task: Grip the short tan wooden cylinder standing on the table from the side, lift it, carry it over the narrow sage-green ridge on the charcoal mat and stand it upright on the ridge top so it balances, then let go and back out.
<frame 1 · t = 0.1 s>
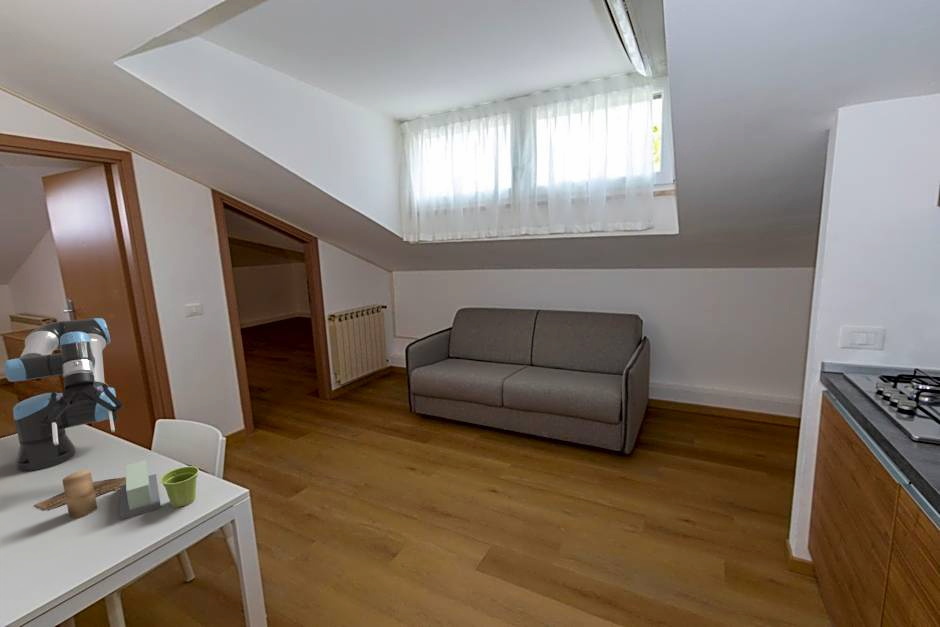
hand: (85, 437, 136), 15 cm above the table, tool tilted 35°, fingers open, 13 cm apart
tan wooden cylinder: (83, 511, 123), on the table
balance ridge: (140, 497, 129), on the table
wooden fragment: (92, 491, 133), on the table
plant pot: (183, 502, 127), on the table
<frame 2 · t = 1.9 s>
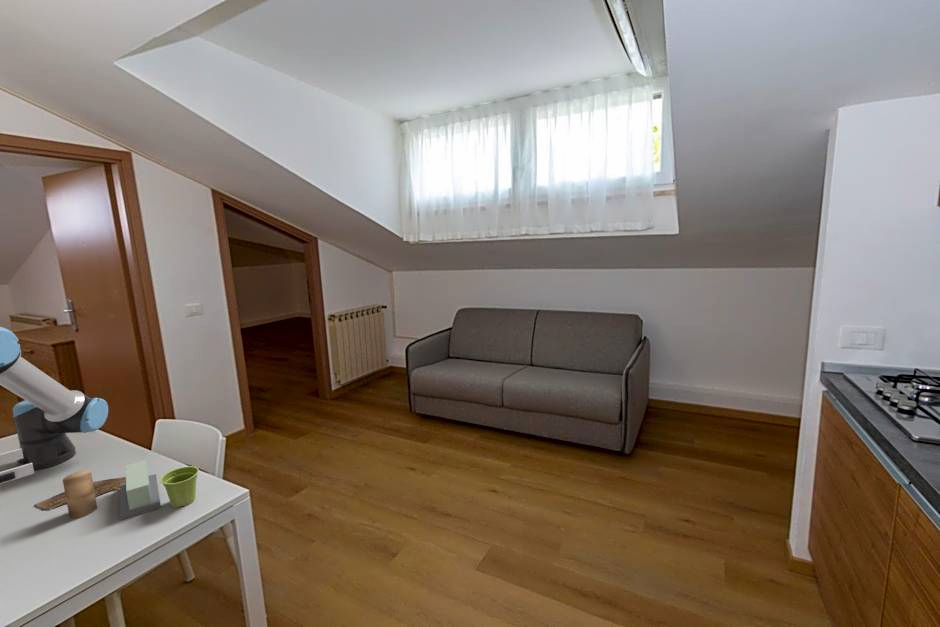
hand: (27, 460, 112), 20 cm above the table, tool horizontal, fingers open, 13 cm apart
nothing on the table moved.
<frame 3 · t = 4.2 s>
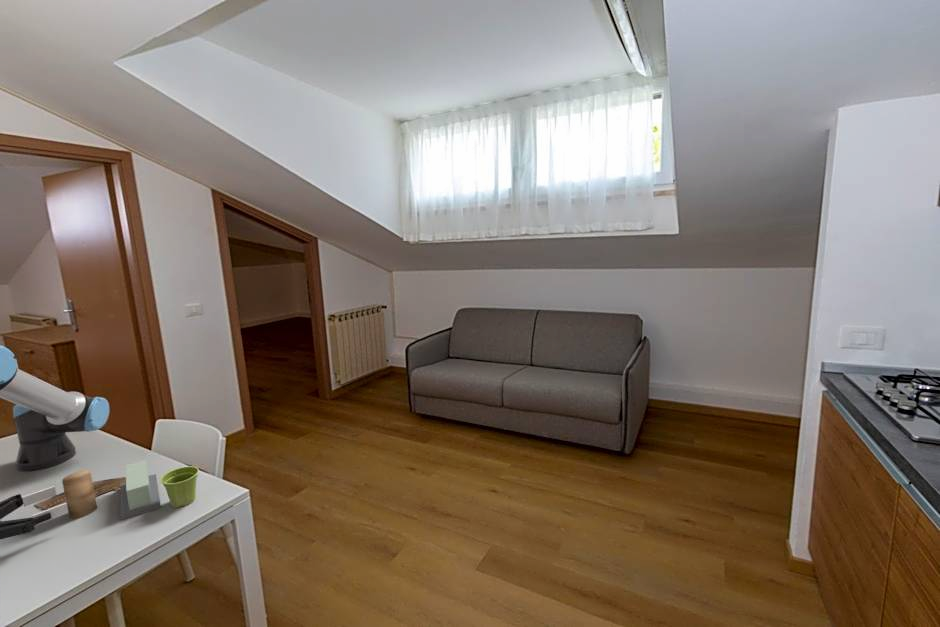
hand: (61, 498, 118), 6 cm above the table, tool horizontal, fingers open, 13 cm apart
nothing on the table moved.
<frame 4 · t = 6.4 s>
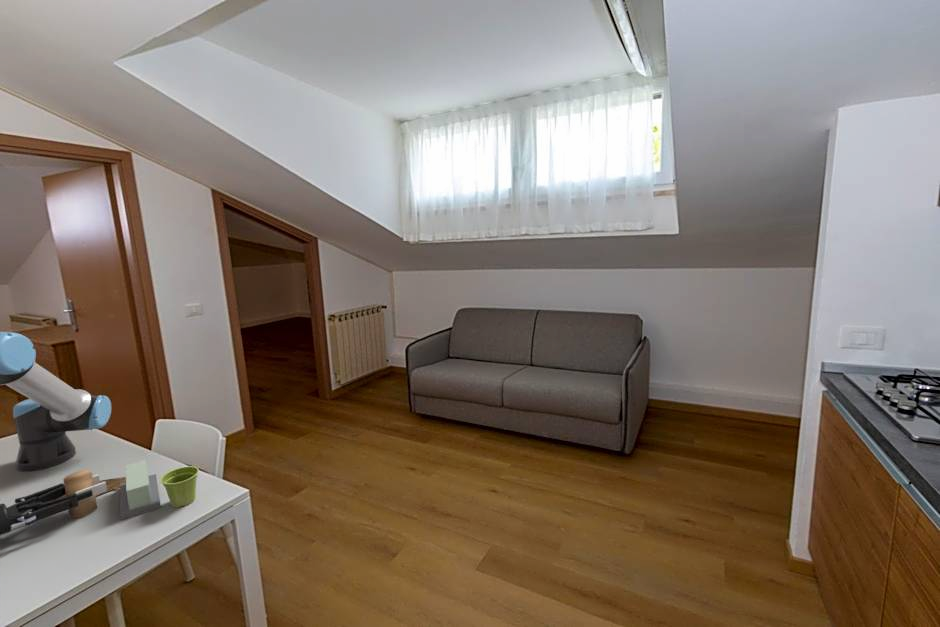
hand: (102, 482, 126), 7 cm above the table, tool horizontal, fingers closed on tan wooden cylinder, 6 cm apart
tan wooden cylinder: (83, 511, 123), on the table, touching gripper
everything else where it was.
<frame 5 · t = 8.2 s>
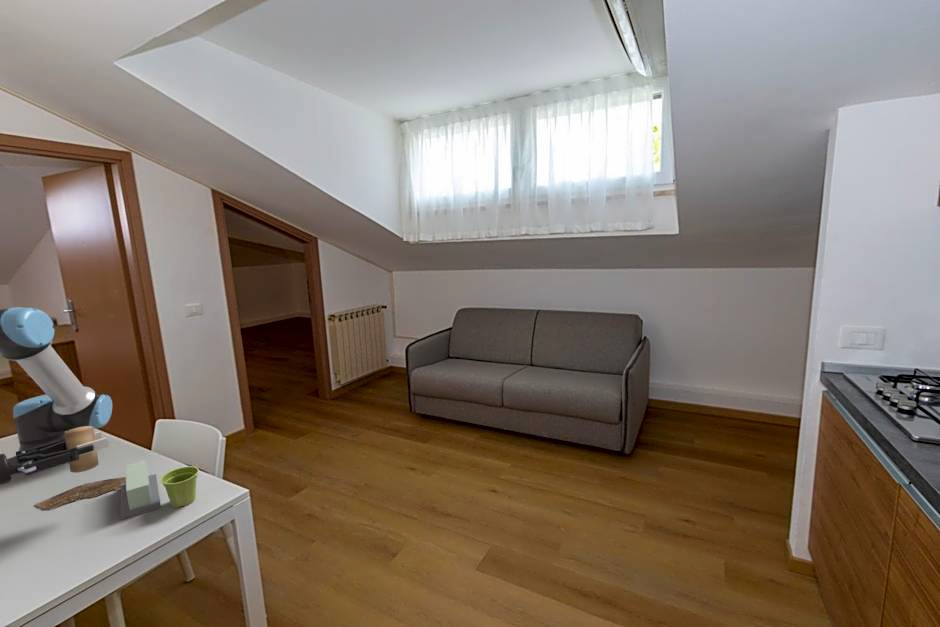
hand: (104, 438, 124), 20 cm above the table, tool horizontal, fingers closed on tan wooden cylinder, 6 cm apart
tan wooden cylinder: (84, 467, 121), point 14 cm above the table, touching gripper
everything else where it was.
when the fingers open (15 cm above the table, at t = 10.5 s): tan wooden cylinder drops 1 cm, resting on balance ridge.
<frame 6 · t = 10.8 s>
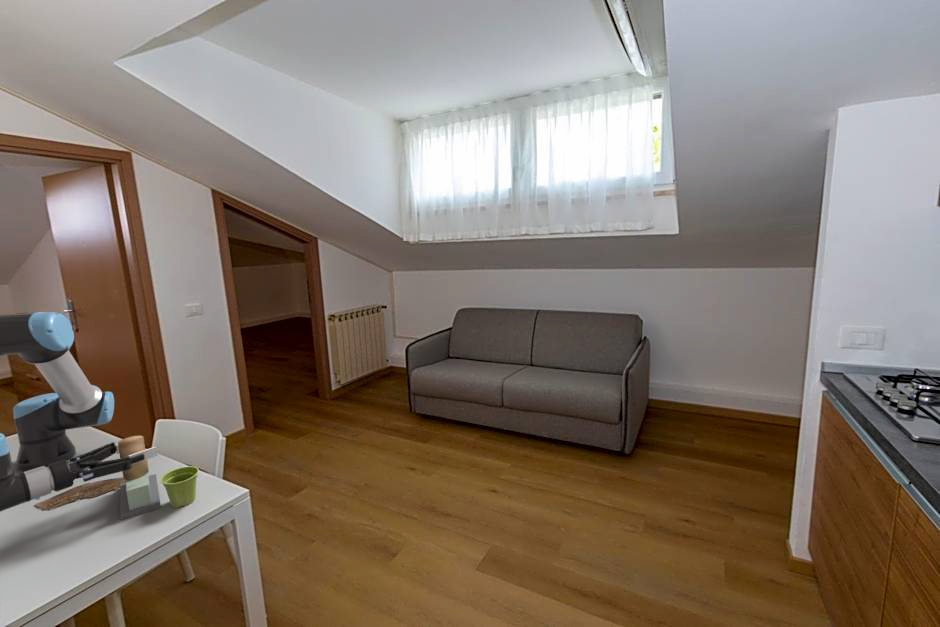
hand: (149, 445, 130), 15 cm above the table, tool horizontal, fingers open, 10 cm apart
tan wooden cylinder: (136, 474, 128), point 8 cm above the table, touching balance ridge
everything else where it was.
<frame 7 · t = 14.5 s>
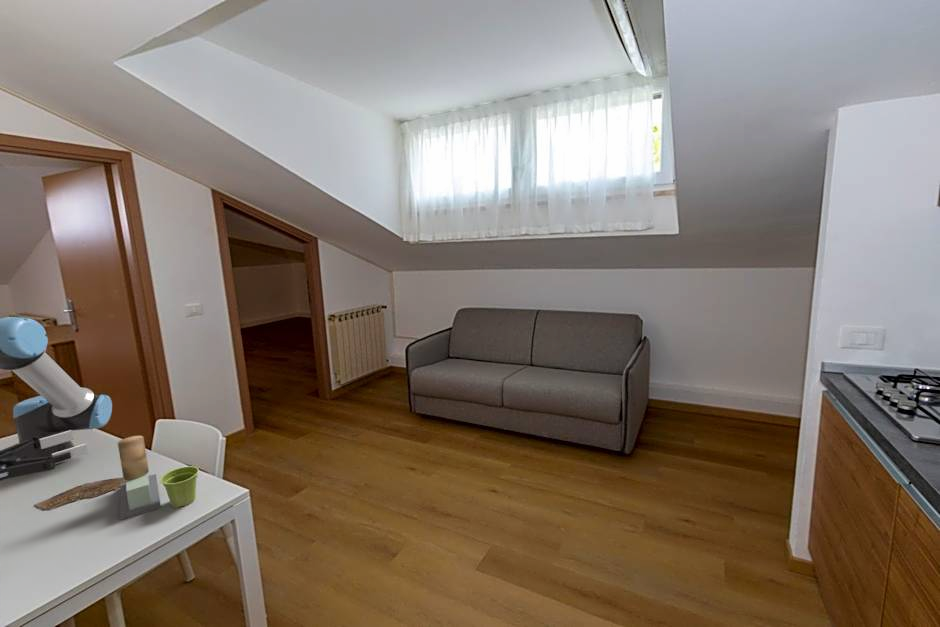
hand: (79, 441, 117), 23 cm above the table, tool horizontal, fingers open, 13 cm apart
nothing on the table moved.
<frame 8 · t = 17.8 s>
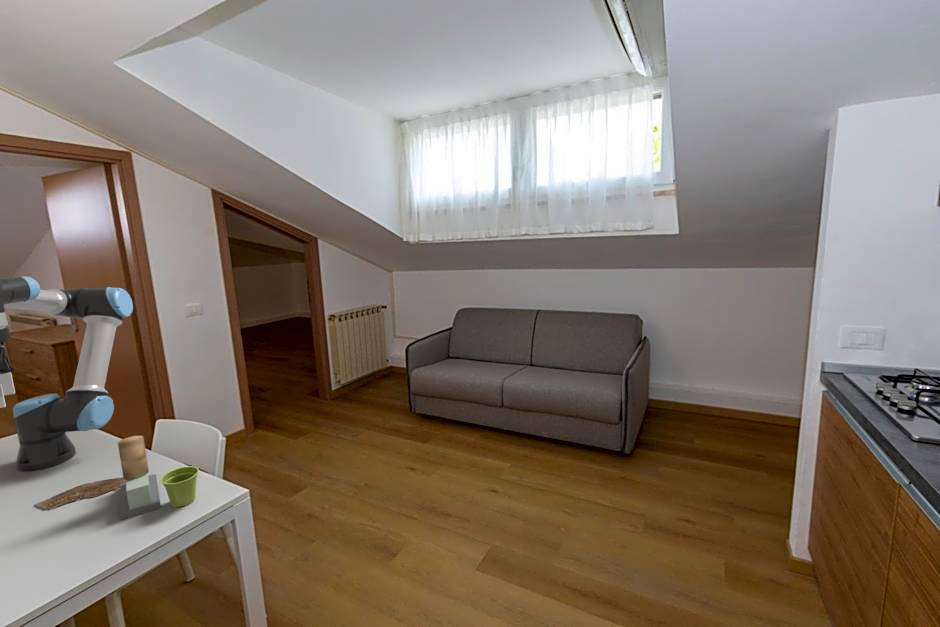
hand: (3, 401, 122), 32 cm above the table, tool pointing down, fingers open, 13 cm apart
nothing on the table moved.
at the end: tan wooden cylinder inside the target area on the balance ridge (0.1 cm from its centre), point 7.5 cm above the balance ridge's base; tan wooden cylinder tilted 0°; the gripper is holding nothing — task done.
